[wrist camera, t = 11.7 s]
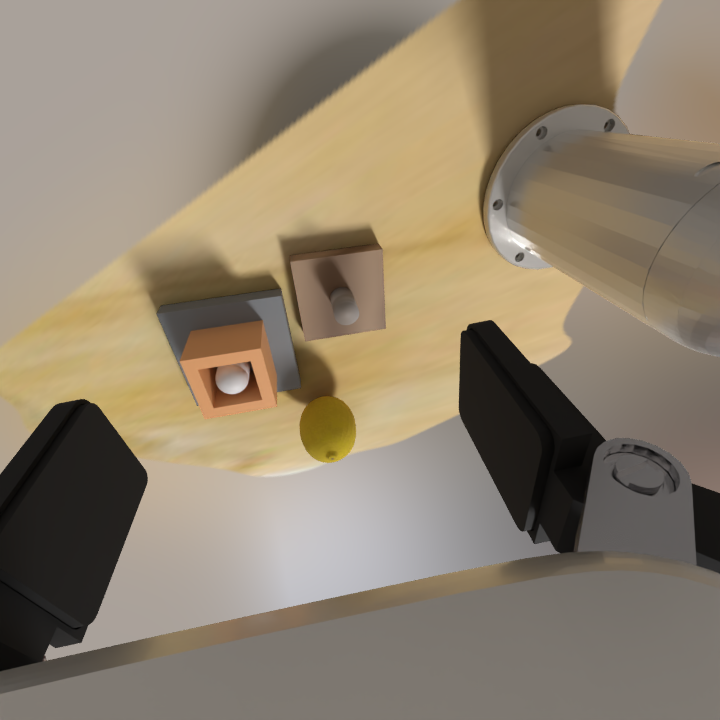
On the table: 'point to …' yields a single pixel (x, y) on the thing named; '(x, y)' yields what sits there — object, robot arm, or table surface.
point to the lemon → (327, 429)
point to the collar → (225, 349)
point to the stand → (340, 291)
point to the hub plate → (229, 312)
